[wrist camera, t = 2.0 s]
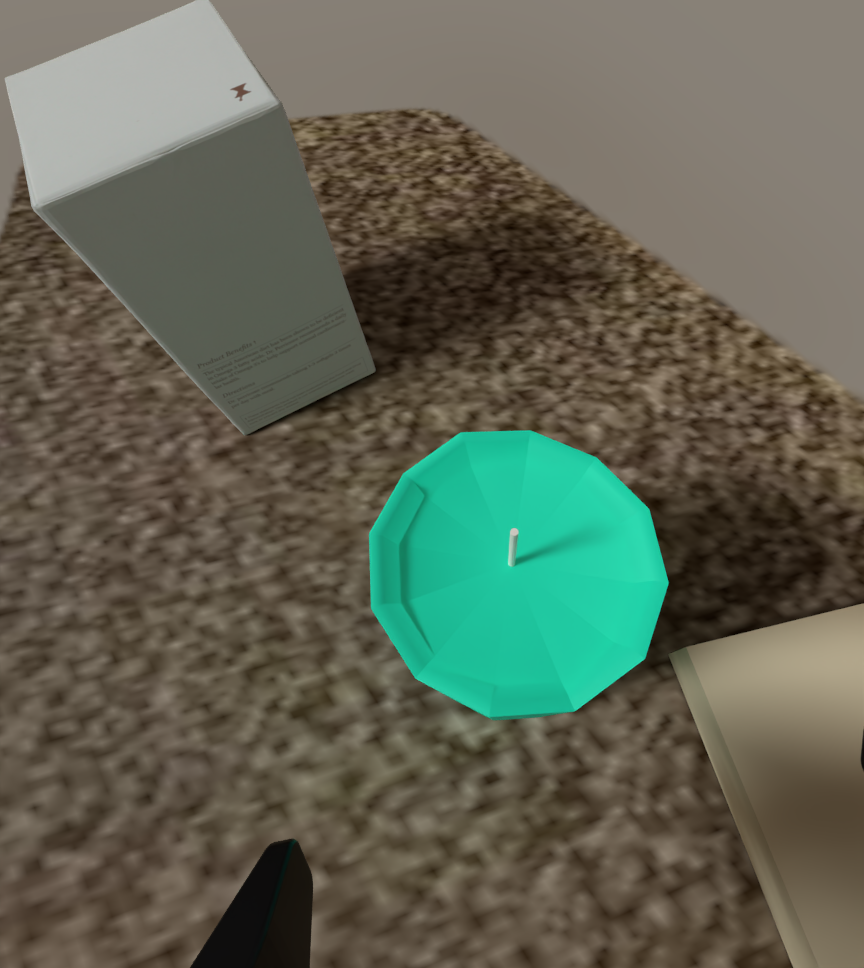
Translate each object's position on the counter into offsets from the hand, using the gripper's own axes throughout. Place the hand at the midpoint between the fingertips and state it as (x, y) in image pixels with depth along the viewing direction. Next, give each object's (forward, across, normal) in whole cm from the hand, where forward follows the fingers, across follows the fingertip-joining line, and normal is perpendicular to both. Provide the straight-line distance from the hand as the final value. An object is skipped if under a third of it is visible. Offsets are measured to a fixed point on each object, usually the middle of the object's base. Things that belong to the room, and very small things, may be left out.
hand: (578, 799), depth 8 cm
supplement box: (+22, +8, -6) cm, 24 cm away
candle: (+11, 0, +5) cm, 12 cm away
